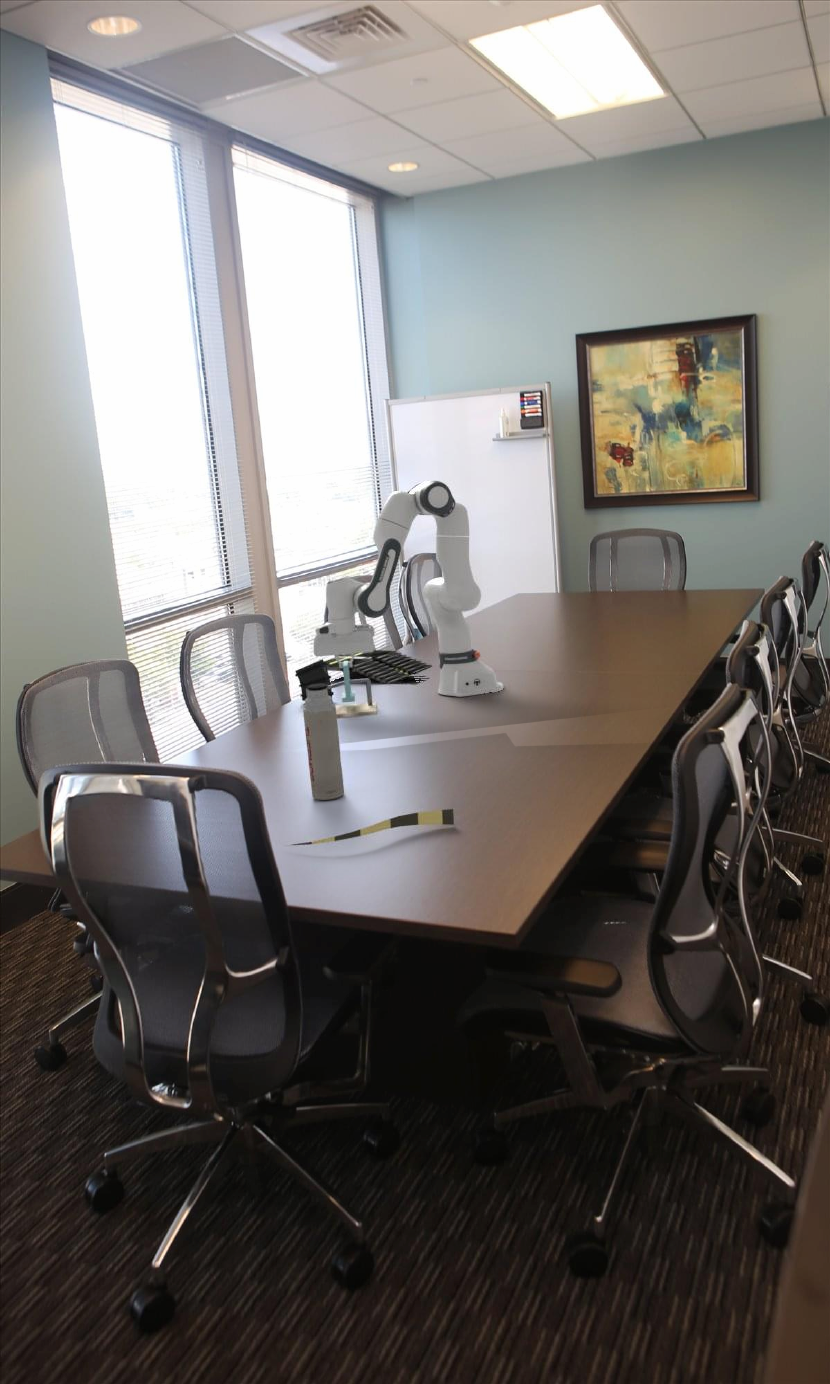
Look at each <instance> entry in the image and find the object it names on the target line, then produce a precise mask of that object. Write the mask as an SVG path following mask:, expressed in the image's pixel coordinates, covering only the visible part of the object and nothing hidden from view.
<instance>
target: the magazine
mask: <svg viewBox="0 0 830 1384" xmlns="http://www.w3.org/2000/svg"><path fill="white" fill-rule="evenodd" d="M324 661H325V660H324V659H320V660H317V661H315V662H313V663H311V664H307V665H306V666H303V667H300V668H299V669H297V670H295V672H294V673H295V674H294V676H295V677H297V679H298V681H299V685H298V687H299V688H300V690H301V691H300V692H301V694H300V697H301V701H303V702H305V699H307V694H306V689H307V687H308V686H309V685H313V684H327V686H328V685H332V684H331V679H332V676H331V675H329V674H330V673H329V671H327V668H326V666H325V664H326V662H324ZM332 689H333V688H332ZM332 689H327V691H328V695H329V696H331V697H332V698H333V696H335V695H334V691H333V690H332Z"/></svg>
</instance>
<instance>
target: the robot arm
mask: <svg viewBox="0 0 830 1384" xmlns="http://www.w3.org/2000/svg"><path fill="white" fill-rule="evenodd" d="M468 513H469V512H468V509H467V508H466V506H464V505H463V504H462V503H459V502H456V500H455V498H454V496H453V494H452V492H451V489H450V488H449V486H448V485H447V484H445V483H444V482H442V481H440V480H426V481H423V482H421V483H418V484H416V485H415V486H413V487H412V488H411V489H410V490H409V491H407V492H406V491H402V490H397V491H393V492H392V493H390V495H388V498H387V499H386V501H385V503H384V504H383V507H382V509H381V511H380V513H379V516H378V518H377V520H376V524H375V526H374V531H373V538H372V539H373V542H374V544H375V546H376V549H377V553H378V555H377V556H378V557H377V562H376V564H375V568H374V570H373V571H374V572H373V573H372V576H371V577H372V578H371V580H370V582H369V584H368V583H364V582H360V581H358V580H355V579H353V578H351V577H350V576H348V575H341V576H336V577H333V578H331V579H329V580H328V582H327V583H326V588H325V599H326V607H327V610H328V615H327V622H324V623H322V624H319V625H317V626H316V627H315V633H316V634H315V637H314V639H313V655H314V656H315V657H328V656H329V657H330V656H334V658H335V659H336V660H337V662H338V663H339V668H343V662H341V661H340V660H339V656H342V655H345V654H350V655H351V657H352V658H351V660H350V661H348V667H353V666H352V662H353V660H354V658H355V653H367V652H373V651H374V650H376V648H375V640H374V637H375V633H376V632H375V628H374V627H373V626H372V624H371V625H370V623H369V624H368V623H367V624H366V623H365V624H356V617H355V614H356V613H360V614H363V615H364V616H365V617H367V618H370V619H378V618H380V617H382V616H383V615H385V613H387V611H388V610H389V607H390V601H391V597H390V589H391V585H392V582H393V578H394V576H395V572H396V569H397V566H398V564H399V560H400V556H401V553H402V551H403V547H404V546H405V542H407V539H408V535H409V533H410V530H411V527H412V525H413V522H414V520H415V519H416V517H417V516H432V517H433V518H434V521H435V523H436V524H435V525H436V537H435V540H436V541H435V559H436V562H437V563H438V565H439V567H440V569H441V572H442V576H439V577H435V578H433V579H430V580H428V581H427V582H426V584H425V585H424V587H423V590H422V591H423V592H422V595H423V599H424V601H425V602H426V604H427V605H428V607H429V609H430V610H431V613H432V616H433V620H434V622H435V626H436V629H437V637H438V640H437V641H438V650H439V651H438V656H437V659H438V666H439V671H440V672H439V683H438V690H437V693H438V694H440V695H443V696H451V697H452V696H453V697H457V698H458V697H459V698H460V697H469V696H476V695H477V696H478V695H485V694H490V693H489V692H492V693H498V691H500V692H502V691H504V689H503V688H504V684H503V683H502V682H500V681H498V680H497V676H496V673H495V670H493V669H492V668H491V667H490V666H489V665H487V664H485V663H484V662H483V661H481V660H479V659H480V657H481V653H480V652H479V651H477V650H476V649H473V647H472V635H471V632H472V631H471V627H470V625H469V622H467V621H466V619H465V616H464V614H463V613H465V612H470V611H472V610H475V609H476V608H477V607H478V606H479V605H480V603H481V599H482V593H481V589H480V587H479V585H478V584H477V582H476V581H475V579H474V576H473V572H472V569H471V568H472V567H471V564H470V563H471V562H470V520H469V514H468ZM501 690H502V691H501ZM484 693H485V694H484Z"/></svg>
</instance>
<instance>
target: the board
mask: <svg viewBox="0 0 830 1384" xmlns="http://www.w3.org/2000/svg"><path fill="white" fill-rule="evenodd" d="M372 703H373V705H370V706H369V705H368V702H361V703H352V704H341V705H335V706H336V715H337V719H340V718H348V717H358V716H367V715H377V714H378V713H377V711H378V710H377V702H376V701H375V702H374V701H372Z"/></svg>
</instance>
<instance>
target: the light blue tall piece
mask: <svg viewBox="0 0 830 1384" xmlns="http://www.w3.org/2000/svg"><path fill="white" fill-rule="evenodd" d="M342 672H343V681H344V683H345V684H344V691H342V695H341V696H342V697H341V702H342V703H352V702H353V703H354V702H355V701H356V693H355V690H351V683H350V684H349V680H351V677H350V671H349V667H348V661H344V663H343V671H342Z"/></svg>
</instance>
